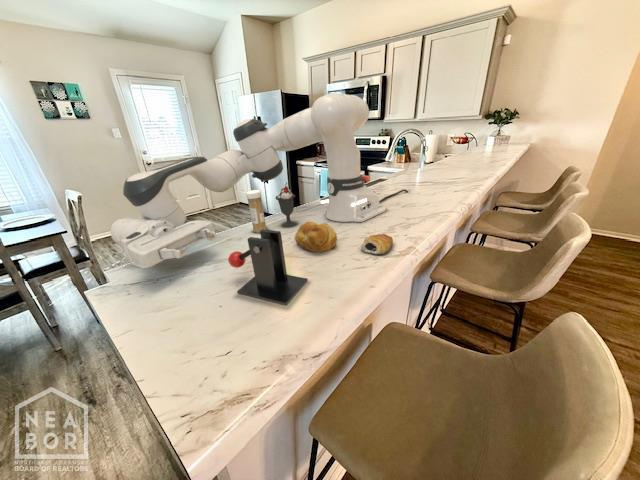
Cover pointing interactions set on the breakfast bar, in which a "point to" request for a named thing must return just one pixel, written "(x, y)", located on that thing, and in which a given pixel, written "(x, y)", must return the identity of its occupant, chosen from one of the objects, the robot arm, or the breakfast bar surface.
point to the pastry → (377, 244)
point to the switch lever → (245, 254)
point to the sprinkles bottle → (256, 210)
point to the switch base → (270, 271)
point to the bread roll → (316, 237)
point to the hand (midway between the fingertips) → (198, 244)
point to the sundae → (286, 205)
